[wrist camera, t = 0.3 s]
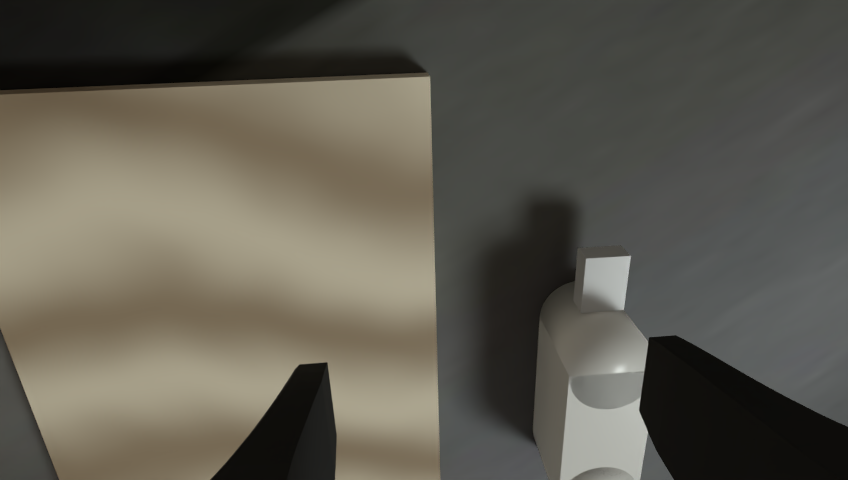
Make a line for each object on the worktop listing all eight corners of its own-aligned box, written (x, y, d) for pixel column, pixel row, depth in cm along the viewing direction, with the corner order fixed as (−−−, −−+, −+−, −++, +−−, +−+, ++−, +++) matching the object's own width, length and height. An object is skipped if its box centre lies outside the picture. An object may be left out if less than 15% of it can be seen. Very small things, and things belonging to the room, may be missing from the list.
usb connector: (597, 450, 27) (632, 523, 23) (531, 456, 27) (555, 529, 23) (625, 227, 22) (673, 274, 19) (544, 232, 22) (577, 280, 18)
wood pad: (438, 470, 27) (440, 487, 26) (85, 499, 26) (74, 518, 25) (427, 72, 19) (429, 76, 18) (-66, 92, 18) (-90, 98, 17)
